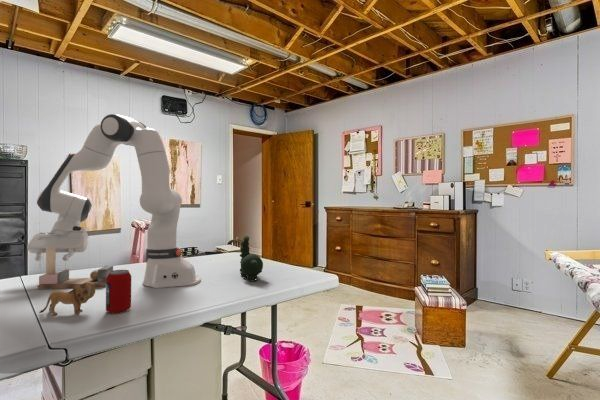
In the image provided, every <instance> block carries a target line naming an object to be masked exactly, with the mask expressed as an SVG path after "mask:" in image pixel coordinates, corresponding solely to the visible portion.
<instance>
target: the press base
mask: <svg viewBox="0 0 600 400" xmlns="http://www.w3.org/2000/svg"><path fill="white" fill-rule="evenodd" d="M110 271H114V265H104V266H102V267H100V268H99V269H96V270H93V271H91V272H90V274H89V276H90V277H81V278H80V277H79V278H78V277H77V278H74V277H73V278H69V279H68V280H66V281H64V282H62V283H58V284H39V283H38V284H37V286H36V287H37V290H52V289H54V290H56V289H57V290H58V289H59V290H60V289H74V288H76V287H78V286H80V285H82V284H83V283H85V282H92V283H93V284H95V288H104V287H105V288H106V278H107V276H108V274H109V272H110Z"/></svg>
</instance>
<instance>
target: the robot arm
mask: <svg viewBox="0 0 600 400" xmlns="http://www.w3.org/2000/svg"><path fill="white" fill-rule="evenodd" d="M121 144H122V145H125V146H131V147H134V150H135V153H136V157H137V162H138V167H139V171H140V175H141V176H140V177H141V195H140V197H139V204H140V205H139V206H140V208H141V209H142V210H143V211H144V212H146V213H149V214H150V215H151V218H150V223H149V226H148V227H147V239H146V240H147V241H146V243H147V244H146V249H145V263H146V264H145V271H144V277H143V280H142V283H141V284H142V285H143V286H145V287H146V286H147V287H151V288H154V289H161V288H172V287H184V286H195V285H197V284H200V283H201V281H202V279H201V276H199V275H197V274H196V270H195V267H194V265H193V263H191V262H189V261H188V260H187V259H185V258H184V257H183V256H182V248H179V247H178V246H177V233H178V232H177V231H178V230H177V228H178V222H179V217H180V212H181V207H182V203H183V198H182V196H181V195H180V193H179V192H178V191H176V190H175V189H173V188H171V187H170V174H171V169H170V165H169V161H168V156H167V151H166V149H165V145H164V143H163V140H162V137H161V135H160V133H159V132H158V131H157V129H154V128H149V127H148V126H146V125H145V124H144V123H143V122H140V121H137V120H135V119H134V118H132V117H128V116H125V115H121V114H117V113H116V114H115V113H111V114H110V113H109V114H106V115H105V116H104V117H103V118H102V120H101V121H100V124H95V126H94V127H93V128H92V129H91V130H90V132H89V133H88V135H87V137H86V139H85V141H84V143H83V145H82V147H81V149H80V150H79V151H78V152H76V153H71V154H70V155H68V156H67V157H66V158H65V160H64V161H63V162H62V164H61V165H60V166H59V168H58V170H57V171H56V172H55V174H54V176H53V177H52V179H50V181H49V183H48V184H47V186H46V187H45V188H44V189H43V190H42V191H41V192H40V193H39V195H38V196H37V199H36V205H37V207H39V209H40V210H41V211H42V212H47V213H54V214H57V215H58V217H57V220H56V221H55V223H54V224H53V226H52V228H51V230H50V232H39V233H36V234H34V235H33V237H32V238H31V239H30V241H29V242H28V243H27V246H26V249H27V251H28V252H29V253H30V254H35V258H34V260H35V262H42V260H43V256H42V254H46V248H56V253H57V254H59V253H62V254H63V253H66V254H64V255H63V257H62V260H63V261H66V262H67V261H69V259H70V258H71V257H72V256H73V255H74V254H75V253H84V252H85V251H87V248H88V245H89V242H88V241H89V239H88V238H89V234H88V232H87V231H86V229H85V227H83V226H80V225H81V224H82V223H83V222H84V221H86V220H87V218H88V216H89V213H90V211H91V209H92V207H93V205H92V202H91V200H90V199H89V198H88V197H86V196H82V195H79V194H75V193H72V192H68V191H65V190H63V189H61V186H62V185H63V183H64V182H65V181H66V179H67V177H68V176H69V175H70V174H71V173H73V172H77V171H85V172H87V171H89V172H91V171H100V170H103V169H104V168H107V167H108V165H109V164H110V162H111V161H112V158H113V155H114V153H115V151H116V148H118V146H120V145H121Z"/></svg>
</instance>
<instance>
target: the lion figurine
mask: <svg viewBox="0 0 600 400" xmlns="http://www.w3.org/2000/svg"><path fill="white" fill-rule="evenodd" d="M95 294H96V287H95V284H93V283H92V282H85V283H83V284H82V285H80V286H78V287H76V288H72V289H71V290H70V291H63V290H60V289H59V290H58V289H57V290H54V291H52V292H51V293H50V295H49V297H48V298H47V301H46V305H45V307H44V308H43V309H42V310H39V312H38V313H39V314H41V313H42V314H43V313H44V312H45V311H46V310H47V308H48V312H50V313H51V315H52V316H57V315H58V312H55V311H56V310H55V309H56V305H58V304H59V303H61V304H63V305H73V310H74V311H73V312H74V315H75V316H79V315H80V314H81V313H82V312H83V309H81V306H82V304H86V303H87V302H88V301H89V300H90V299H91V298H93V297H94V296H95Z"/></svg>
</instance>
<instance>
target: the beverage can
mask: <svg viewBox="0 0 600 400" xmlns="http://www.w3.org/2000/svg"><path fill="white" fill-rule="evenodd" d="M131 307H132V274H131V273H130V271H129V269H115V270H114V269H113V271H110V272H109V274H108V276H107V278H106V287H105V312H108V313H109V314H114V315H115V314H122V313H125V312H127V311H128V310H130V309H131Z"/></svg>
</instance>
